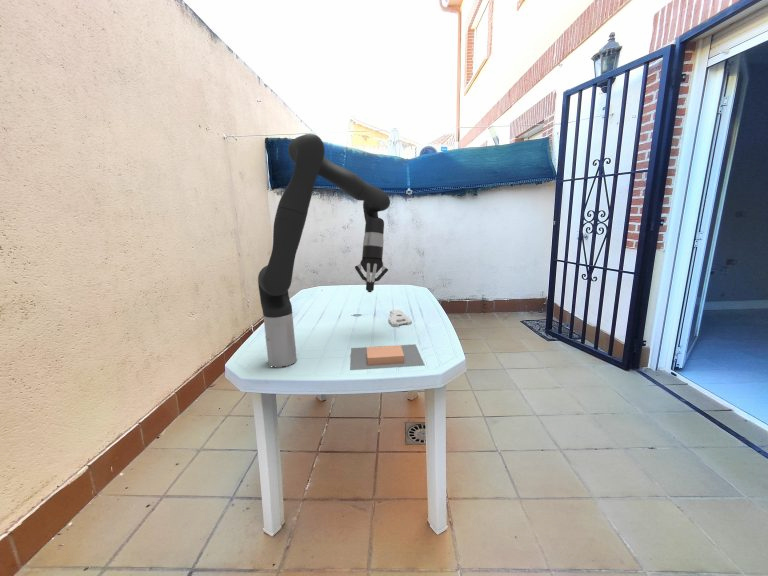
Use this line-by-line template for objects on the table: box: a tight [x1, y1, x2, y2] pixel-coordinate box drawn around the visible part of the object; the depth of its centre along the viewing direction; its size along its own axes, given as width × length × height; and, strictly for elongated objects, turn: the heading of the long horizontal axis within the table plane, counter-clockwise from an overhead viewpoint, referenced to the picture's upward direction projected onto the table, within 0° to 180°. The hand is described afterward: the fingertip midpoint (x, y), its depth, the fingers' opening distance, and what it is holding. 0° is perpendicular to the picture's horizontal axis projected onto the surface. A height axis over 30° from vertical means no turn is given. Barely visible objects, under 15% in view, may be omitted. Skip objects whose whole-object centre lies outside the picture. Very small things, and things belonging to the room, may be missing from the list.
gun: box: [387, 309, 413, 328], centre depth 157 cm, size 18×4×10 cm
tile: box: [367, 344, 404, 365], centre depth 116 cm, size 12×2×9 cm
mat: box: [349, 344, 425, 371], centre depth 118 cm, size 24×18×1 cm
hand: (369, 292), depth 127 cm, fingers closed
